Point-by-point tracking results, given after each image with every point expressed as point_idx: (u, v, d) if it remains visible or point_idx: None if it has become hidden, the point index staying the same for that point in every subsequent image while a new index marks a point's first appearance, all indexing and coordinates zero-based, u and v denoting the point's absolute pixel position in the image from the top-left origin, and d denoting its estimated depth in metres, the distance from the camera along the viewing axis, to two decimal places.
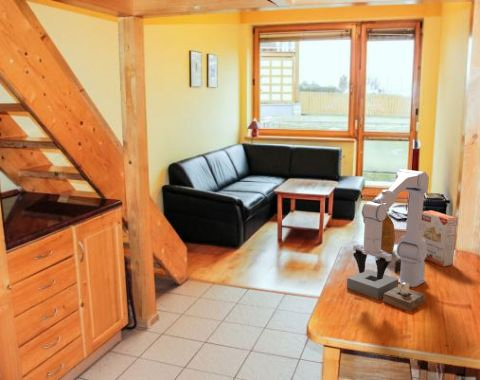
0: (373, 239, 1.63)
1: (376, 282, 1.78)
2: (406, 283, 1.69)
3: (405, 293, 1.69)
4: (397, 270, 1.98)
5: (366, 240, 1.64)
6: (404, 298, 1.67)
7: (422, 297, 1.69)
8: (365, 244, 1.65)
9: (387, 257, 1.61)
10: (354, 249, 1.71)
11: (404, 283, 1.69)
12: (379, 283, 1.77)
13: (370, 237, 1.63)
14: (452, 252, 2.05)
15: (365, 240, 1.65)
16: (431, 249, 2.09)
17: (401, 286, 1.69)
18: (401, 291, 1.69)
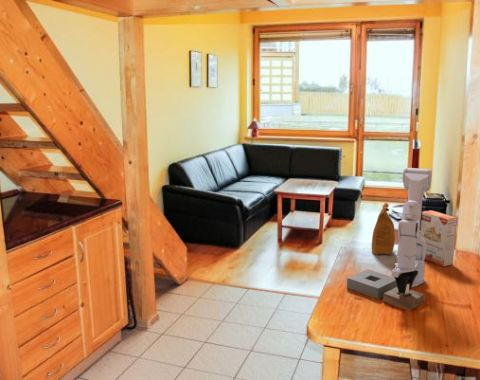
0: (398, 253, 1.68)
1: (376, 282, 1.78)
2: None
3: (405, 293, 1.69)
4: None
5: None
6: (404, 298, 1.67)
7: (422, 297, 1.69)
8: None
9: None
10: None
11: None
12: (379, 283, 1.77)
13: (408, 254, 1.64)
14: (452, 252, 2.05)
15: None
16: (431, 249, 2.09)
17: None
18: None
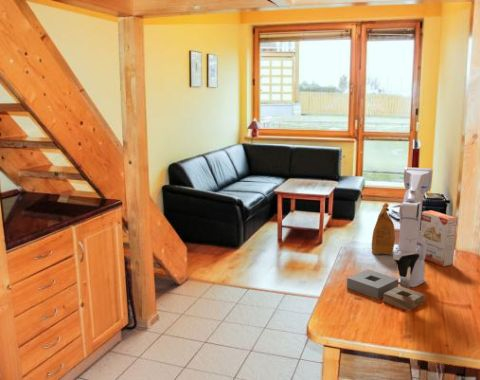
0: (399, 236, 1.66)
1: (376, 282, 1.78)
2: None
3: (406, 276, 1.67)
4: None
5: None
6: (404, 298, 1.67)
7: (422, 297, 1.69)
8: None
9: None
10: None
11: None
12: (379, 283, 1.77)
13: (410, 237, 1.63)
14: (452, 252, 2.05)
15: None
16: (431, 249, 2.09)
17: None
18: None
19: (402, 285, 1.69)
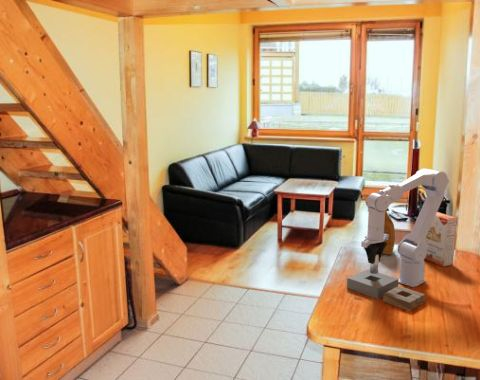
0: (368, 225, 1.78)
1: (376, 282, 1.78)
2: None
3: (374, 263, 1.79)
4: None
5: None
6: (404, 298, 1.67)
7: (422, 297, 1.69)
8: None
9: None
10: None
11: None
12: (379, 283, 1.77)
13: (371, 225, 1.76)
14: (452, 252, 2.05)
15: None
16: (431, 249, 2.09)
17: None
18: None
19: (371, 272, 1.80)
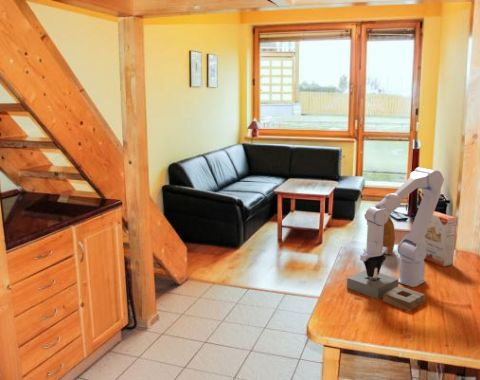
0: (367, 239, 1.79)
1: (376, 282, 1.78)
2: None
3: (373, 276, 1.80)
4: None
5: None
6: (404, 298, 1.67)
7: (422, 297, 1.69)
8: None
9: None
10: None
11: None
12: (379, 283, 1.77)
13: (370, 239, 1.77)
14: (452, 252, 2.05)
15: None
16: (431, 249, 2.09)
17: None
18: None
19: None
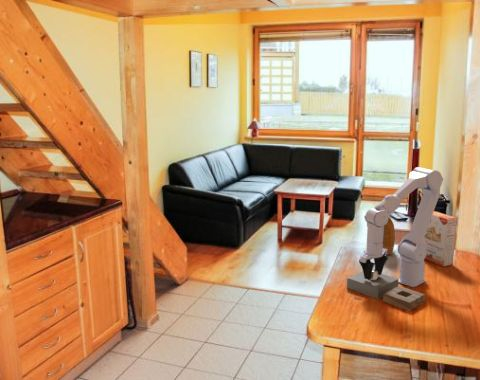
0: None
1: (376, 282, 1.78)
2: (375, 271, 1.81)
3: (373, 280, 1.80)
4: None
5: None
6: (404, 298, 1.67)
7: (422, 297, 1.69)
8: None
9: None
10: None
11: (373, 271, 1.81)
12: (379, 283, 1.77)
13: (370, 240, 1.77)
14: (452, 252, 2.05)
15: None
16: (431, 249, 2.09)
17: None
18: None
19: None
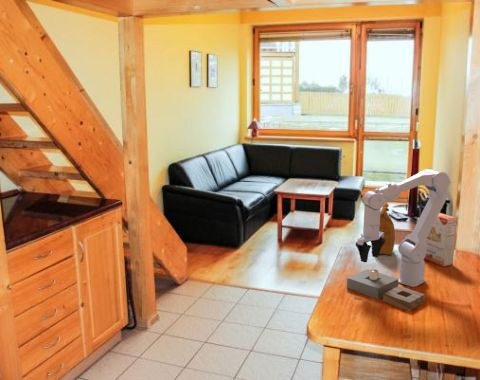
0: None
1: (376, 282, 1.78)
2: (375, 271, 1.81)
3: (373, 280, 1.80)
4: None
5: None
6: (404, 298, 1.67)
7: (422, 297, 1.69)
8: None
9: None
10: None
11: (373, 271, 1.81)
12: (379, 283, 1.77)
13: (365, 223, 1.79)
14: (452, 252, 2.05)
15: None
16: (431, 249, 2.09)
17: (370, 273, 1.81)
18: (370, 278, 1.81)
19: None
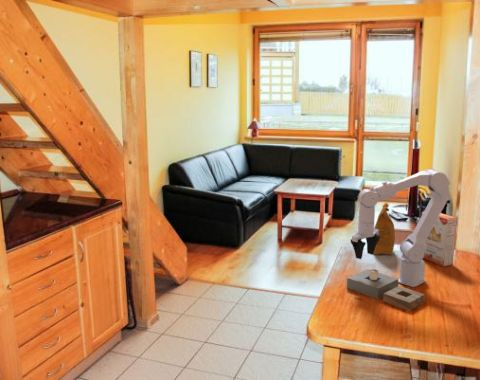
0: None
1: (376, 282, 1.78)
2: (375, 271, 1.80)
3: (373, 280, 1.80)
4: None
5: None
6: (404, 298, 1.67)
7: (422, 297, 1.69)
8: None
9: None
10: None
11: (373, 271, 1.80)
12: (379, 283, 1.77)
13: (359, 220, 1.83)
14: (452, 252, 2.05)
15: None
16: (431, 249, 2.09)
17: (370, 274, 1.80)
18: (370, 278, 1.81)
19: None
